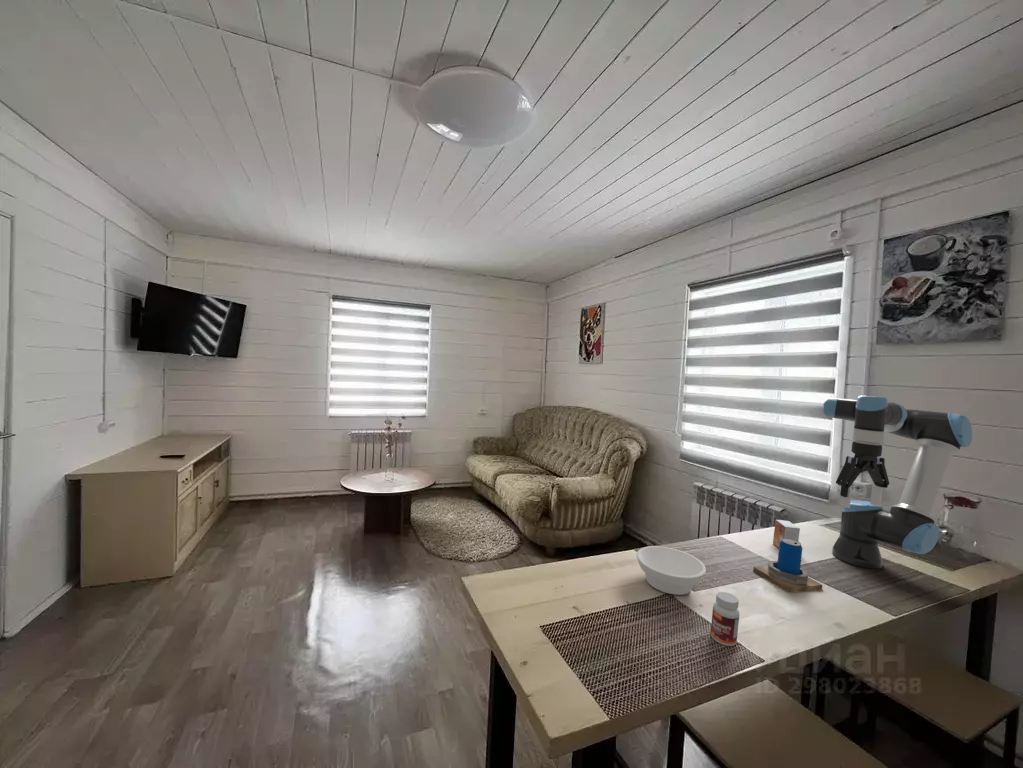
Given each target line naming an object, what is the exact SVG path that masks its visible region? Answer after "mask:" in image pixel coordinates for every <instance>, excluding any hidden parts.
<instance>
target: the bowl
mask: <svg viewBox="0 0 1023 768" xmlns="http://www.w3.org/2000/svg"><path fill="white" fill-rule="evenodd" d="M636 558H637V562H638V564H639V567H640V569H641V571H643V572H644V575H645V579H646V581H647V583H648V584H649V585H650V586H651V587H652V588H654V589H657V590H658V591H660V592H662V593H665V594H666V593H667V594H671V595H679V596H680V595H687V594H689V593H690V592H691V590H692V589H693V586H695V585H696V584H698V583H700V582H701V580H702V579H703V577H704V576H705V574H706V572H707V570H706V569H707V568H706V566H705V564H704V563H703V562H702V561H701V560H700V559H699V558H697V557H695V556H693V555H692V554H690V553H689V552H685V551H682V550H679V549H676V548H672V547H668V546H667V547H666V546H661V545H660V546H659V545H655V546H654V545H649V546H644V547H641V548H639V549H638V550H637V551H636Z"/></svg>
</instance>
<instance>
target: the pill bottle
mask: <svg viewBox="0 0 1023 768" xmlns="http://www.w3.org/2000/svg"><path fill="white" fill-rule="evenodd" d="M739 601H740V600H739V598H738V597H737V596H736V595H734V594H732V593H730V592H725V591H718V592H717V593H716V597H715V602H714V603H713V606H712V614H711V615H712V616H711V625H710V636H711V637H712V639H713V640H714V641H715V642H717V643H719V644H720V645H722V646H726V647H733V646H735V645H736V644H737V643H738V634H739V633H738V632H739V622H740V611H739V609H738V608H739Z"/></svg>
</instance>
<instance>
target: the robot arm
mask: <svg viewBox="0 0 1023 768" xmlns="http://www.w3.org/2000/svg"><path fill="white" fill-rule="evenodd" d="M822 413H823V415H824V416H825V417H826V418H832V419H838V420H844V421H849V422H853V423H854V425H853V432H852V433H853V434H852V439H853V441H852V442H851V453H853V454H854V456H853V457H852V456H849V455H847V456H846V457H845V462H844V465H843V466H842V468H841V471H840V472H839V474H838V475H837V478H836V481H835V484H836V485H837V486H840V494H839V495H840V499H839V506H842V509H841V517H840V518H841V520H840V529H839V530H840V531H839V536H838V537H837V540H836V541H835V542H834V544H833V546H832V551H831V554H832V555H833V556H834V557H836V558H837V559H839V560H841V561H843V562H845V563H847V564H850V565H853V566H857V567H861V568H865V569H866V568H867V569H871V570H872V569H875V570H877V569H882V568H883V562H884V561H883V559H882V554H881V551H880V548H879V542H881V543H885V544H886V545H887V544H888V545H890V546H893V547H895V548H898V549H899V548H900V549H902V550H904V551H905V552H911V553H913V554H914V553H915V554H917V555H925V554H928V553H929V552H931V551H932V550H933V548H934V547H935V546H936V544H937V542H938V541H939V534H940V529H939V527H938V526H937V525H936V524H935V522H936V520H935V518H933V516H932V511H933V508H934V505H935V502H936V500H937V497H938V494H939V491H940V488H941V485H942V482H943V480H944V476H945V474H946V471H947V468H948V465H949V463H950V459H951V457H952V455H956V454H958V453H959V452H960V449H961V447H962V448H967V447H968V448H969V446H970V445H971V442H972V440H973V428H972V423H971V421H970V419H969V418H968V417H967V416H966V415H964V414H958V413H953V412H941V411H932V410H931V411H930V410H923V409H922V410H919V409H906V408H905V406H904V405H902V404H900V403H896V402H890V401H889V402H888V398H887V397H885V396H876V395H858V397H857V399H851V398H839V397H828V398H826V399H825V400H824V402H823V405H822ZM885 432H886V433H888V434H893V435H895V436H898V437H903V438H906V439H910V440H914V442H915V444H916V445H917V446H918V448H917V452H916V454H915V458H914V460H913V463H912V465H911V468H910V471H909V473H908V477H907V479H906V483H905V485H904V488H903V490H902V493H901V496H900V499H899V502H898V503H897V504H895V505H892V506H891V507H890V510H886V509H885V510H884V506H883V505H882V498H883V494H884V493H883V492H884V491H883V490H884V488H885V489H887V488H888V486H889V485H890V480H889V477H888V476H889V475H888V472H887V469H886V465H885V461H886V460H885V457H882V453H883V446H882V444H883V443H884V437H885V436H884V434H885ZM864 472H867V473H868V474H869V476H870V479H871V481H872V482H873V485H871V493H870V501H867V500H866V501H865V500H854V499H853V500H852V491H853V488H852V487H851V486H852V485H853V484H854V482H855V481H856V480H857V478H858V477H859V475H860V474H862V473H864Z"/></svg>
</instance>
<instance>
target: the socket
mask: <svg viewBox="0 0 1023 768" xmlns="http://www.w3.org/2000/svg"><path fill="white" fill-rule="evenodd" d="M777 563H778V560H768V564H767V565H760V566H757V565H755V566H753V572H755V573H757V574H758V575H759V576H761V577H763V578H765V579H766V580H767V581H769V582H771V583H772V584H774V585H776V586H777V587H779V588H781V589H783V590H784V591H786V592H787V593H797V592H809V591H818V590H823V584H822V583H819V582H818V581H817V580H814V579H812V578H811V577H809V575H808V572H807V570H806V569H804V568H802V567H800V575H793V574H789V573H785V572H782V571H780V570H778V569H777Z"/></svg>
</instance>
